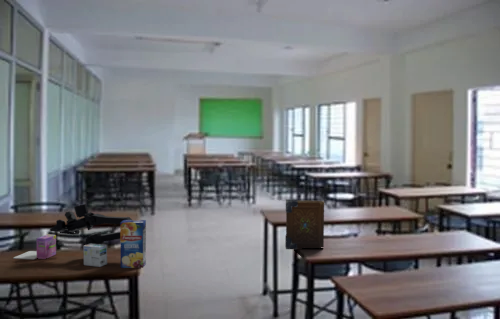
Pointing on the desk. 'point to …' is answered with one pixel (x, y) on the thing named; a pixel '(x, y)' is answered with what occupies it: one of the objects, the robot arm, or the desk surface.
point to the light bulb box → (95, 254)
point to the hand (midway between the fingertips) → (54, 231)
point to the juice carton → (133, 243)
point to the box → (46, 246)
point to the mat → (27, 255)
